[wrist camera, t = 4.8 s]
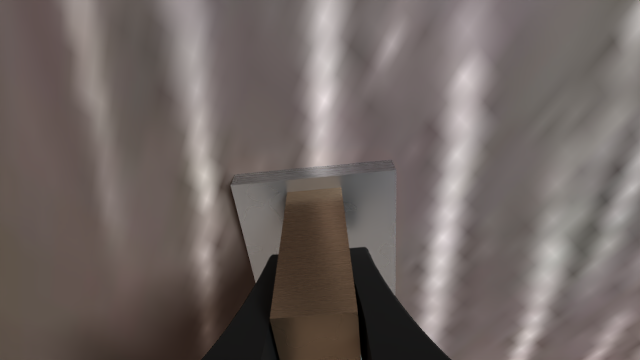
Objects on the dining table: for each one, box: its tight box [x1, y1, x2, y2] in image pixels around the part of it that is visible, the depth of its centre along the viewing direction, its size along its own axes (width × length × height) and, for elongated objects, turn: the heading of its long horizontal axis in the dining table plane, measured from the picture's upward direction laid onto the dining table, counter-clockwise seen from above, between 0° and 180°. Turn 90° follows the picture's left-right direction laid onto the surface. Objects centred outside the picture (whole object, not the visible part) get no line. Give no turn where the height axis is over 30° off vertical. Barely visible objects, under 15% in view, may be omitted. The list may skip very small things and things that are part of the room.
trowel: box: [231, 160, 396, 360], centre depth 12 cm, size 6×7×6 cm
